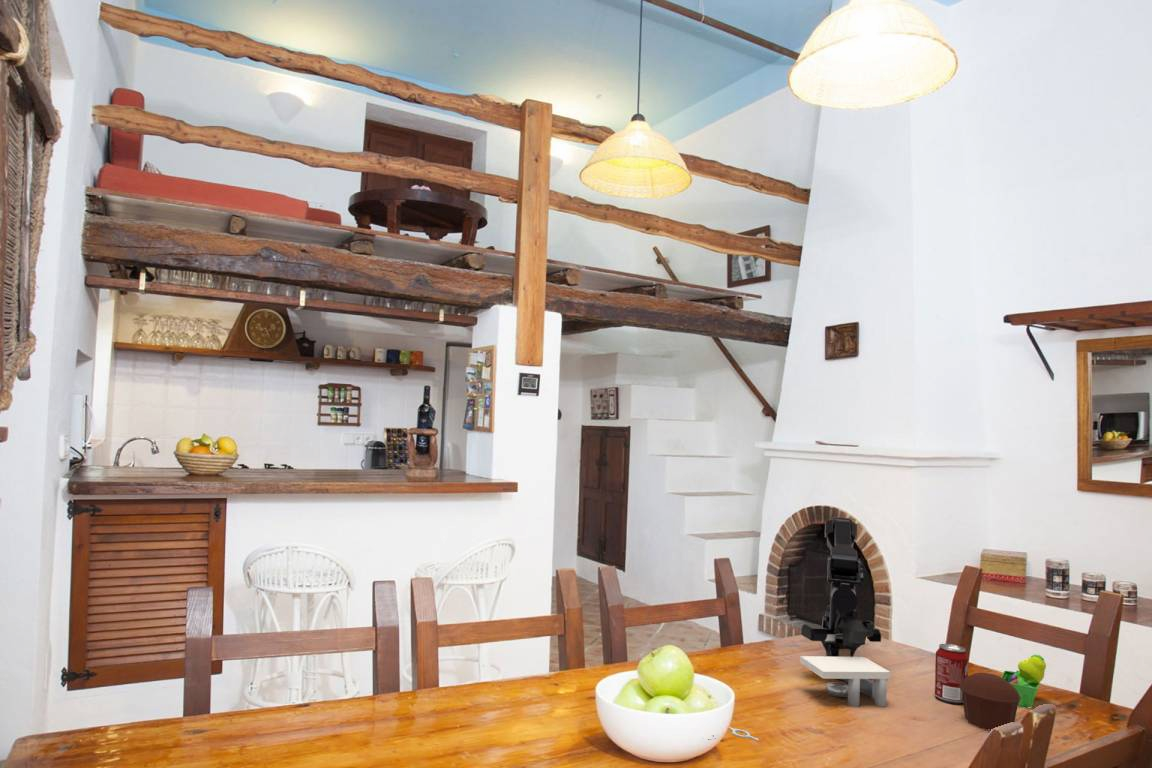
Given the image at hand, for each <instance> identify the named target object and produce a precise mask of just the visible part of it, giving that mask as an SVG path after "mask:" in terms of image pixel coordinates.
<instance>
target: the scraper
mask: <svg viewBox="0 0 1152 768" xmlns="http://www.w3.org/2000/svg"><path fill="white" fill-rule="evenodd" d="M850 651H851V649H849V648H847V647H845V646H844V645H838V646H837V647H836V657H850ZM842 680H843V681H845V682H847V683H848V681H849V679H842ZM860 692H862V693H864V694H865V695H867V696H869V697H870V698H871V699H872V698H874V699H875V681H872V680H871V679H860Z"/></svg>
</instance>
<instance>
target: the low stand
mask: <svg viewBox="0 0 1152 768" xmlns="http://www.w3.org/2000/svg"><path fill="white" fill-rule="evenodd" d="M799 658H800V659H799V662H800V664H801V665H803V666H804V667H806V668H807V669H809V670H810V671H811V672H813V673H815V674H816V675H817V676H819V677H820V678H822V679H824V680H825V679H827V680H828V679H832V680H833V679H834V680H835V679H836V680H837V679H838V680H839V679H840V680H843V679H849V681H848V682H847V683H848V684H847V685H848V697H847V705H848V706H850V707H855V708H856V707H857V708H858V707H859V706H860V695H861V694H860V692H861V690H860V679H869V680H871V679H872V680H875V681H874V683H875V698H874V705H875V706H878V707H880V708H881V707H883V708H884V707H887V694H888V693H887V692H888V691H887V687H888V680H890V679H891V671H889V670H888V669H885V668H884V667H882V666H881V665H879V664H877V663H875V662H873V661H872V660H870V659H868V658H866V657H864V656H853V657H831V656H826V655H825V656H818V655H817V656H812V655H809V656H808V655H807V656H806V655H802V656H801V655H800V657H799Z"/></svg>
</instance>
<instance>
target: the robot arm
mask: <svg viewBox="0 0 1152 768" xmlns="http://www.w3.org/2000/svg"><path fill="white" fill-rule="evenodd" d="M824 538H826V546H827V548H828V549H829V550H830V555H827V579H826V580H827V582H830V595H829V596H830V597H829V602H828V603H827V606H826V608H825V615H822V621H821V622H822V624H821V625H819V624H817V623H804V624H803V625H801V628H800V635H801V636H803V637H804V638H806V639H807V640H809V641H811V642H821V645H822V646H823V648H824V650H825V656H831V657H836V647H837V646H838V645H844V646H845V647H847V648H849V649H851V651H850V657H854V655H855V653H856V652H857V649H858V648H860V647H861V646H863V645H864V646H865V644H866V639H867V640H868V641H869V642H871V643H872V642H873V643H874V642H879V643H881V642H882V632H881V631H880V629H879V628H878V627H877V628H876V627H875V626H874V625H875V623H874V622H873V621H872V620H859V617H858V616H859V615H858V610H856V607H857V606H858V601H859V600H858V597H857V594H856V586H855V585H857V586H861V583H862V582H863V580H864V565H863V563H862V560H861V558H858V551H857V550H856V549H855V548H854V542H855V541H856V540H857V539H858V524H857V523H856V522H854V521H853V519H852V518H848V517H839V516H835V517H833V518H832V519H831V520H826V521H825V523H824Z"/></svg>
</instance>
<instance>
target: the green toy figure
mask: <svg viewBox="0 0 1152 768" xmlns="http://www.w3.org/2000/svg"><path fill="white" fill-rule="evenodd" d="M1046 664H1047V663H1046V662H1045V658H1044V657H1042V656H1041V655H1039V654H1036V653H1035V654H1032V655H1031V656H1030V657H1029V658H1026V659H1024V660H1021V661H1019V662H1018V664H1017V668H1018V670H1016V671H1011V670H1004V671H1003V673H1002V675H1001V676H1000V677H1001V678H1003V679H1005V680H1006V681H1007V682H1009V683H1010V684H1011V685H1013V686H1014V687H1015V689H1016V690H1017V691H1018V693H1019V695H1020V697H1021V699H1020V701H1019V702H1018V707H1023V708H1027V707H1033V704H1034V701H1035V697H1036V695H1037V692H1038V689H1039V686H1040V683H1041V682H1042V681H1043V679H1044V678H1045V672H1046V671H1045V670H1046V668H1047V665H1046Z"/></svg>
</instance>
